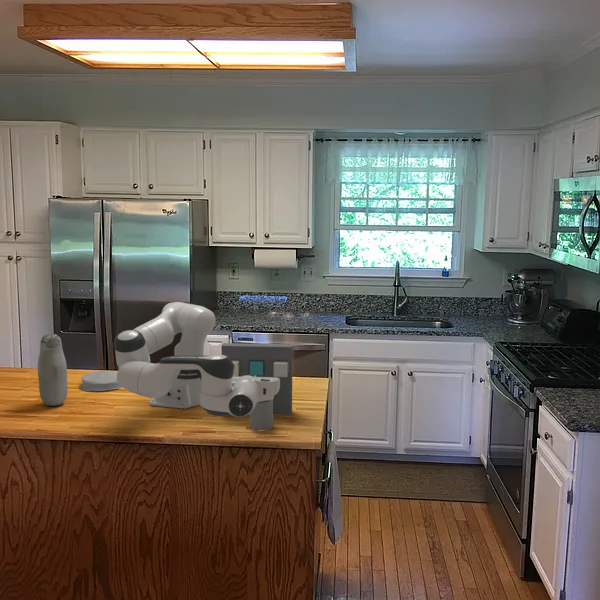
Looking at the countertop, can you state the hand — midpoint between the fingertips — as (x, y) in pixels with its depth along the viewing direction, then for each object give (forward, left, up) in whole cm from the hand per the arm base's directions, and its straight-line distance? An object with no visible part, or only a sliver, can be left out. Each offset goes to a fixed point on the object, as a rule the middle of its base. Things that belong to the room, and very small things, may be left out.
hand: (252, 377), depth 220 cm
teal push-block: (0, +17, -3) cm, 18 cm away
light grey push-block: (+9, +15, -3) cm, 18 cm away
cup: (+3, +3, -19) cm, 20 cm away
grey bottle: (-79, +20, -19) cm, 84 cm away
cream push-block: (-9, +15, -3) cm, 18 cm away
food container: (-69, +46, -19) cm, 85 cm away
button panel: (0, +17, -19) cm, 26 cm away
